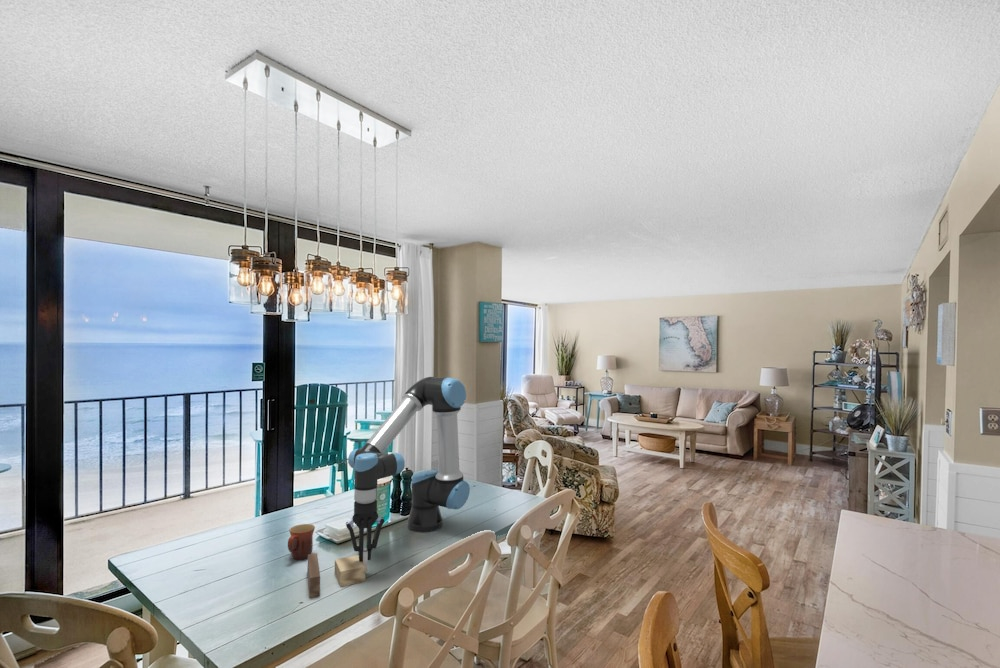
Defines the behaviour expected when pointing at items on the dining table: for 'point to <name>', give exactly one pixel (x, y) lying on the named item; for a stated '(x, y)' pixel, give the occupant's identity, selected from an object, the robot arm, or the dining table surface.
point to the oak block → (349, 570)
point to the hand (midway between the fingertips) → (364, 569)
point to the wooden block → (313, 575)
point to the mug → (301, 541)
